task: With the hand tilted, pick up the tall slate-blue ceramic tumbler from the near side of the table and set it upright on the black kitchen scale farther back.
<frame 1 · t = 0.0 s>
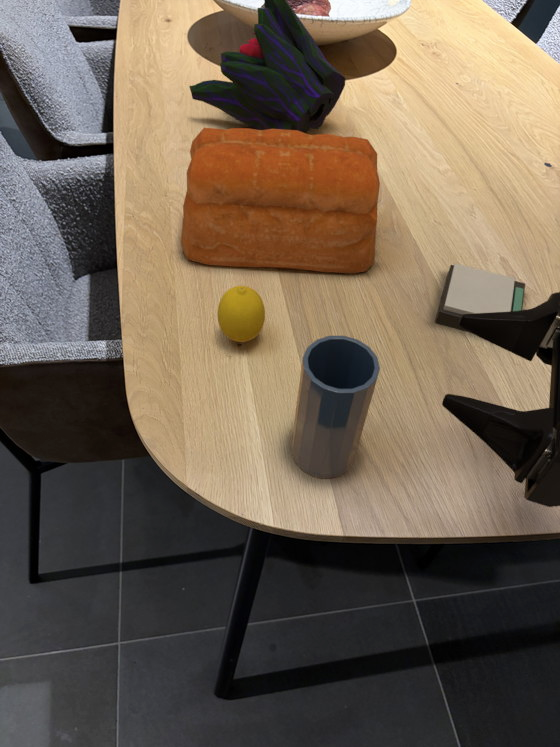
hand: (452, 357, 48), 18 cm above the table, tool horizontal, fingers open, 9 cm apart
kitchen scale: (478, 308, 79), on the table
bread: (278, 242, 86), on the table
lemon: (240, 339, 73), on the table
tumbler: (323, 451, 63), on the table
decorative plant: (260, 119, 110), on the table
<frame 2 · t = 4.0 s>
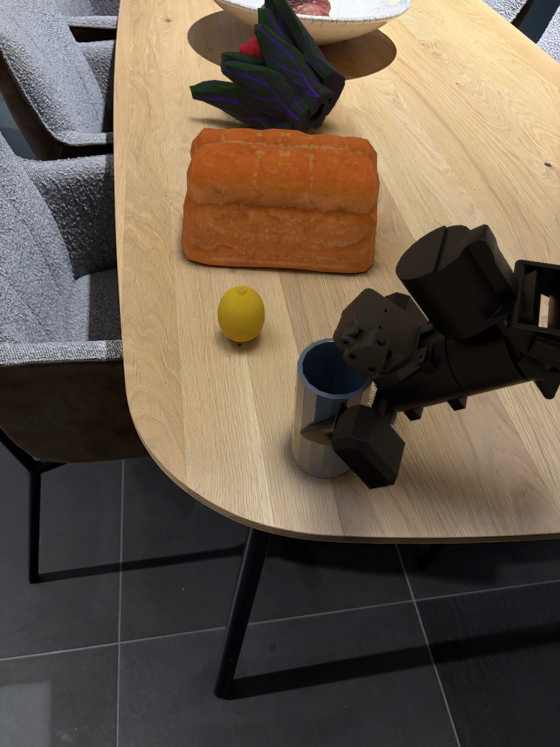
hand: (314, 403, 58), 7 cm above the table, tool tilted 45°, fingers closed on tumbler, 7 cm apart
tumbler: (323, 449, 63), on the table, touching gripper
everything else where it was.
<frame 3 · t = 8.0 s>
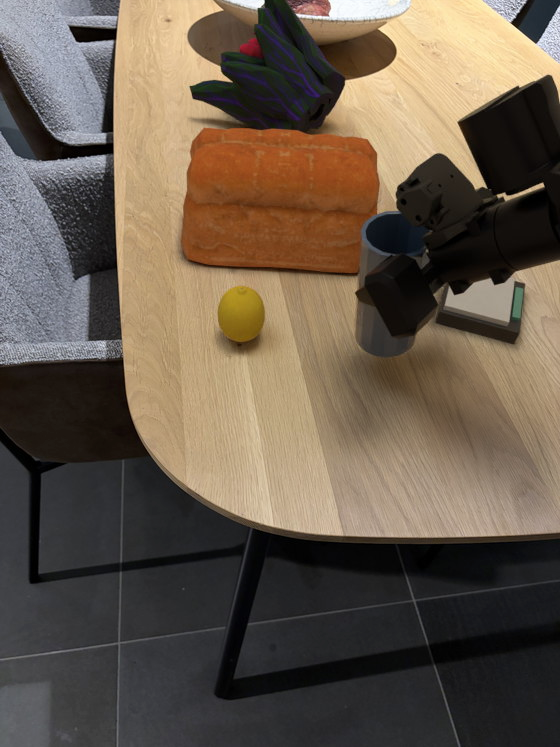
hand: (378, 278, 61), 13 cm above the table, tool tilted 45°, fingers closed on tumbler, 7 cm apart
tumbler: (384, 334, 66), point 6 cm above the table, tilted 7°, touching gripper
everything else where it was.
when the fingers open (10 cm above the table, at t = 12.2 s): tumbler stays where it is, resting on kitchen scale.
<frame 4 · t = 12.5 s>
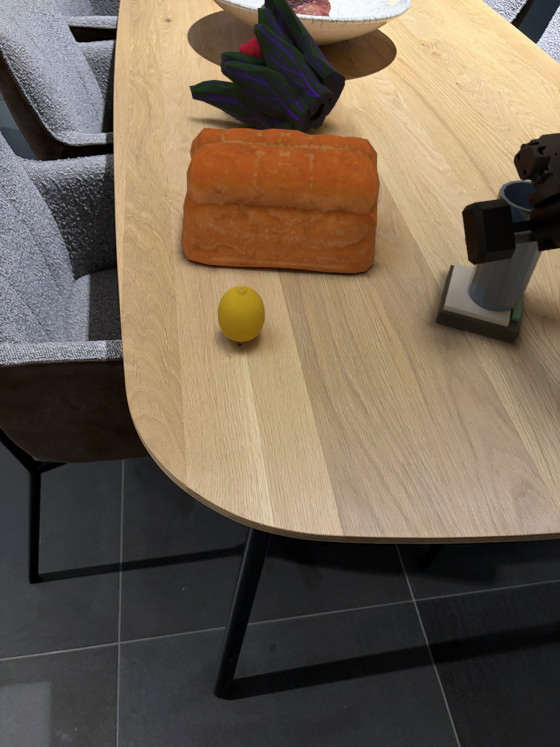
hand: (500, 235, 72), 11 cm above the table, tool tilted 45°, fingers open, 9 cm apart
tumbler: (493, 293, 77), point 3 cm above the table, touching gripper, kitchen scale
everything else where it was.
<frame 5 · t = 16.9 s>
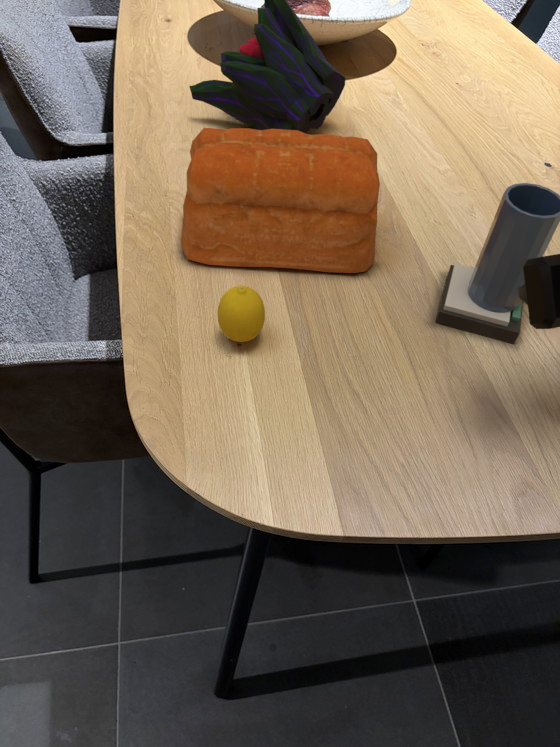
hand: (558, 285, 62), 14 cm above the table, tool tilted 45°, fingers open, 9 cm apart
tumbler: (493, 294, 77), point 3 cm above the table, touching kitchen scale
everything else where it was.
at the end: tumbler inside the target area on the kitchen scale (1.3 cm from its centre), point 2.8 cm above the kitchen scale's base; tumbler tilted 0°; the gripper is holding nothing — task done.
